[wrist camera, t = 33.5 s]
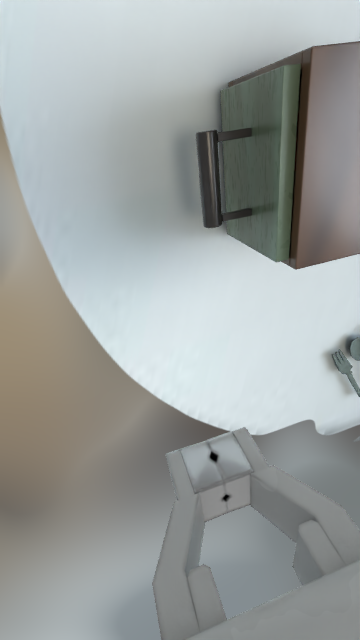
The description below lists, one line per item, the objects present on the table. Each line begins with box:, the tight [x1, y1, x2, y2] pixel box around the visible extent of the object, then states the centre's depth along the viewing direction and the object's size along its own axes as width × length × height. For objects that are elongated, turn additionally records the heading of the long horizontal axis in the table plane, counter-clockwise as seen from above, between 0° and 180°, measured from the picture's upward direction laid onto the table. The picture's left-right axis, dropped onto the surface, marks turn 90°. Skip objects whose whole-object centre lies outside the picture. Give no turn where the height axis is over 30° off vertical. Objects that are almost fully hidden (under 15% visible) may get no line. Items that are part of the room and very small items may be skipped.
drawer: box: [196, 64, 301, 262], centre depth 27 cm, size 18×13×10 cm
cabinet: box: [228, 41, 360, 269], centre depth 27 cm, size 15×14×12 cm
